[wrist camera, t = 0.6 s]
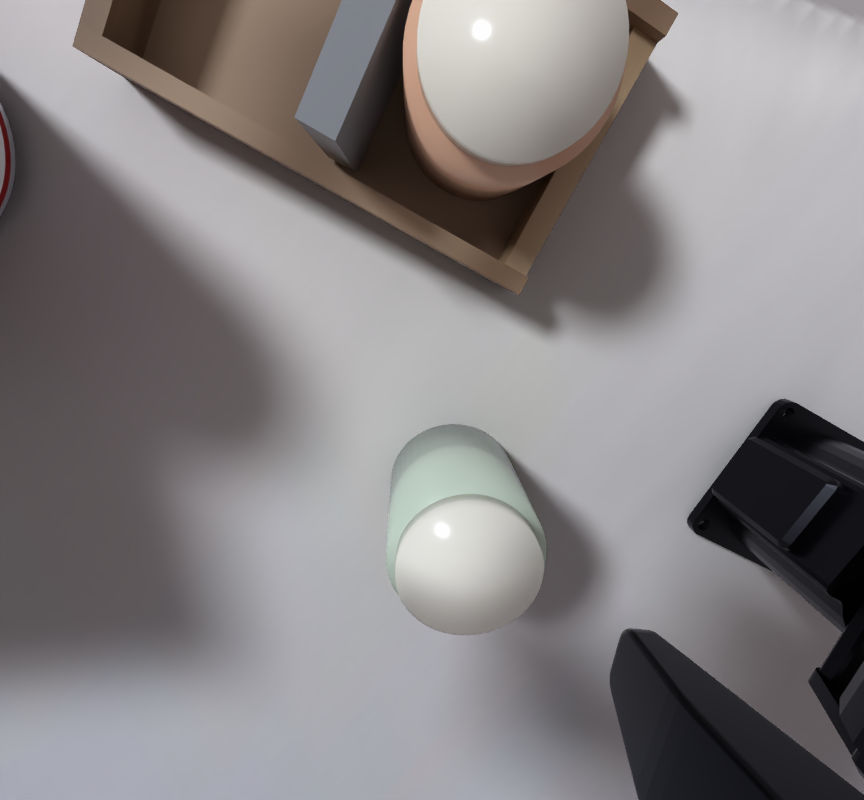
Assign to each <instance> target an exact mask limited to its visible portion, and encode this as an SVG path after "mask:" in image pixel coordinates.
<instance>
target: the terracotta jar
mask: <svg viewBox="0 0 864 800" xmlns="http://www.w3.org/2000/svg"><path fill="white" fill-rule="evenodd" d="M628 44H629V19H628V8H627V4H626V0H412V3H411V6H410V8H409V12H408V17H407V21H406V25H405V32H404V40H403V90H404V123H405V132H406V136H407V141H408V144H409V147H410V150H411V153H412V155H413V157H414V159H415V161H416V163H417V164H418V166H419V167H420V169H421V170H422V172H423V173H424V174H425V175H426V176H427V177H428V179H429V180H431V181H432V182H433V183H434V184H435V185H436V186H437V187H439V188H440V189H442V190H443V191H445V192H447V193H449V194H451V195H453V196H456V197H459V198H462V199H466V200H472V201H486V200H493V199H497V198H501V197H504V196H506V195H509V194H511V193H513V192H515V191H517V190H519V189H520V188H522V187H524V186H526V185H528V184H530V183H532V182H534V181H536V180H538V179H539V178H541V177H543V176H545V175H547V174H549V173H551V172H553V171H555V170H556V169H558V168H560V167H562V166H563V165H565V164H567V163H568V162H570V161H571V160H572V159H574V158H575V157H576V156H578V155H579V154H580V153H581V152H582V151H583V150H584V149H585V148H586V147H587V146H588V145H589V144H590V143H591V142H592V141H593V139H594V138H595V137H596V136H597V134H598V133H599V132H600V130H601V129H602V127H603V126H604V124H605V123H606V121H607V119H608V118H609V115H610V113H611V111H612V109H613V107H614V105H615V103H616V100H617V97H618V94H619V92H620V89H621V85H622V81H623V76H624V72H625V64H626V59H627V52H628Z"/></svg>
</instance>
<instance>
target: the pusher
mask: <svg viewBox="0 0 864 800" xmlns="http://www.w3.org/2000/svg"><path fill="white" fill-rule="evenodd" d="M411 3H412V0H342V1H341V3H340V6H339V8H338V11H337V13H336V16H335V18H334V21H333V23H332V26H331V28H330V31H329V33H328V36H327V38H326V40H325V43H324V45H323V48H322V50H321V53H320V55H319V58H318V60H317V63H316V65H315V68H314V70H313V73H312V75H311V78H310V80H309V82H308V85H307V87H306V90H305V92H304V95H303V97H302V100H301V102H300V105H299V107H298V110H297V112H296V115H295V117H294V118H295V119H296V120H297V121H298V122H299V123H300V125H301V126H302V127H303V128H304V129H305V130H306V132H307V133H308V134H309V135H310V136H311V137H312V139H313V140H314V141H315V142H316V143H317V144H318V146H319V147H320V148H321V149H322V150H323V151H324V153H325V154H326V155H327V156H328V157H329V158H331V159H333V160H334V161H336V162H338V163H340V164H341V165H343V166H345V167H347V168H348V169H350V170H352V171H354V172H355V173H357V171H358V169H359V167H360V165H361V162H362V160H363V158H364V156H365V154H366V151H367V149H368V147H369V145H370V142H371V140H372V138H373V136H374V133H375V131H376V129H377V127H378V125H379V122H380V120H381V118H382V116H383V113H384V111H385V109H386V107H387V104H388V102H389V100H390V98H391V96H392V93H393V91H394V89H395V87H396V84H397V82H398V80H399V78H400V75H401V73H402V71H403V40H404V32H405V25H406V21H407V17H408V12H409V8H410V6H411Z"/></svg>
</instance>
